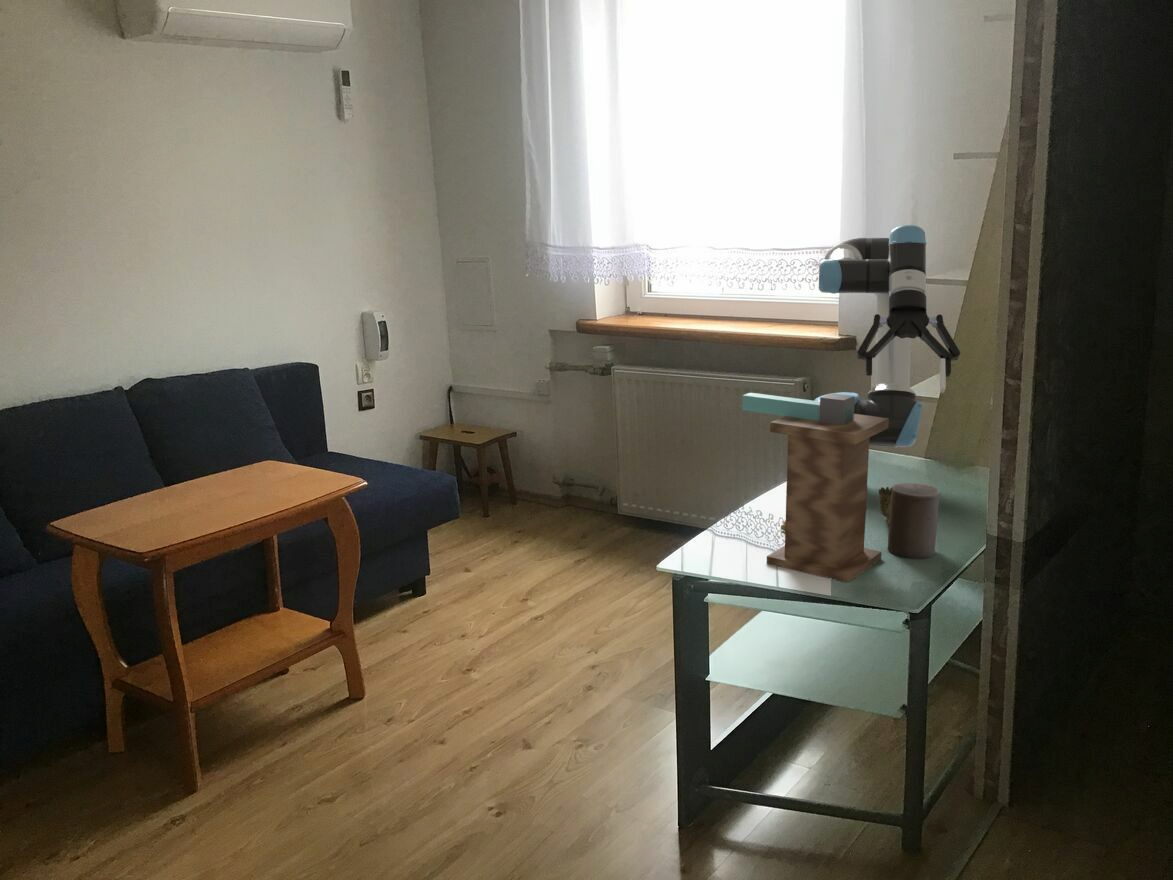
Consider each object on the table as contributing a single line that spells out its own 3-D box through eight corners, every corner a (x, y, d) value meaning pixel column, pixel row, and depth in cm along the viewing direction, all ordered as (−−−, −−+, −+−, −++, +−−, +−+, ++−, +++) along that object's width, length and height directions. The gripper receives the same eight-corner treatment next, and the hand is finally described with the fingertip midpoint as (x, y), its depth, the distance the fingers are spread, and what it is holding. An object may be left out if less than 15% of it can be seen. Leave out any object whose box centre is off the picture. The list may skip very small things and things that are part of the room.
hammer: (740, 410, 220) (740, 387, 219) (752, 406, 224) (752, 383, 222) (842, 425, 206) (843, 400, 205) (853, 420, 210) (854, 395, 208)
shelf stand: (766, 563, 217) (770, 422, 210) (802, 541, 229) (806, 407, 222) (848, 582, 206) (855, 434, 199) (881, 558, 218) (888, 418, 211)
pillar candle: (890, 558, 219) (895, 489, 215) (884, 541, 228) (889, 475, 224) (939, 560, 217) (945, 491, 214) (930, 543, 227) (936, 477, 223)
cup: (912, 530, 235) (914, 496, 233) (878, 528, 236) (879, 494, 234) (909, 519, 242) (911, 486, 240) (876, 518, 243) (877, 485, 241)
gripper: (847, 288, 220) (845, 382, 213) (972, 287, 215) (975, 384, 208) (845, 303, 227) (844, 395, 220) (967, 303, 222) (969, 397, 215)
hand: (908, 390), depth 214 cm, fingers open, 13 cm apart
